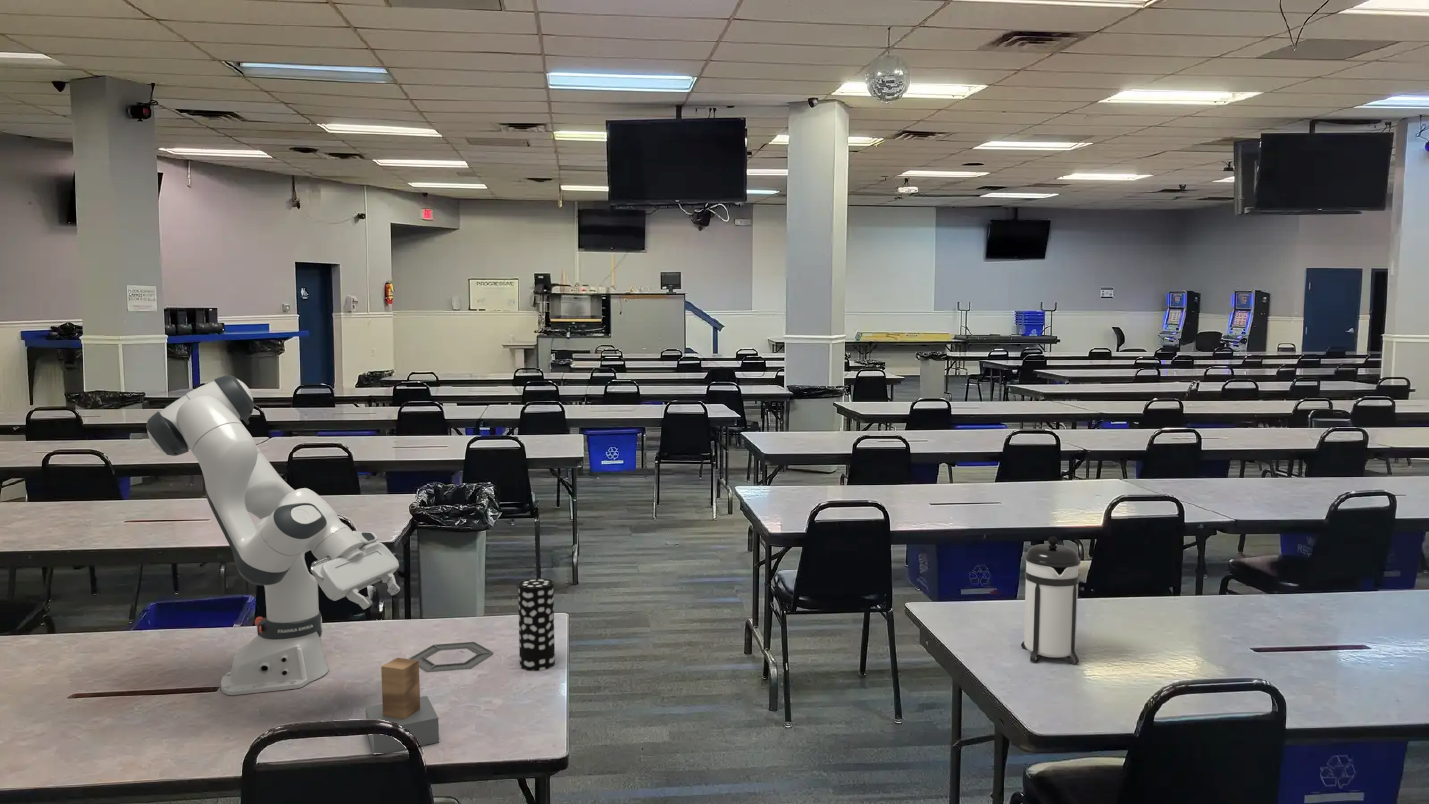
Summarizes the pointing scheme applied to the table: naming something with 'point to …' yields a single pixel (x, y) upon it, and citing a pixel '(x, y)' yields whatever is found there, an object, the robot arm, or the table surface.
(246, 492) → the robot arm
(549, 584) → the spotted tube
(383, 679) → the oak block
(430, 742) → the block
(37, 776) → the table surface
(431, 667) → the grey hexagonal ring
